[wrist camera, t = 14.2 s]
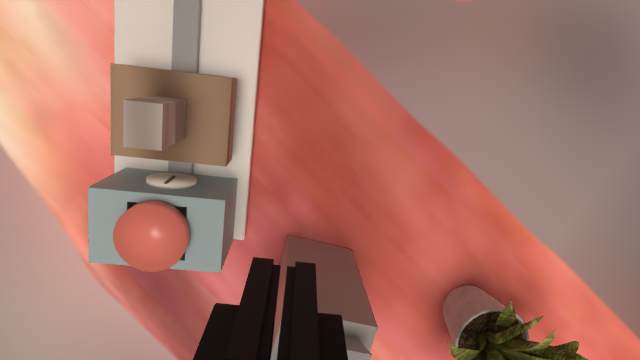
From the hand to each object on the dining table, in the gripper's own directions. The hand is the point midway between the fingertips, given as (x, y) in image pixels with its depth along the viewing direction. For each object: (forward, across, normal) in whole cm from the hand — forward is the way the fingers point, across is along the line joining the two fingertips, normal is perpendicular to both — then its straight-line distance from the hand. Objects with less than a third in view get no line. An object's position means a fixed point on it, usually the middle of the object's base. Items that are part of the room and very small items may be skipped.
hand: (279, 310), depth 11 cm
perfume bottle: (+29, -3, +14) cm, 32 cm away
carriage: (+26, +10, -1) cm, 28 cm away
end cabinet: (+27, +10, +7) cm, 29 cm away
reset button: (+21, +10, +7) cm, 25 cm away
